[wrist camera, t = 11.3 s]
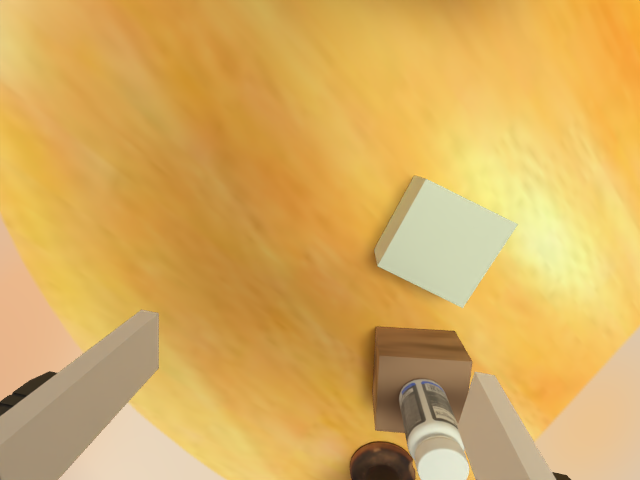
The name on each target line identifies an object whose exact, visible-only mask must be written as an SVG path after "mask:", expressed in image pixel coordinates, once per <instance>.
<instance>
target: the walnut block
mask: <svg viewBox="0 0 640 480" xmlns="http://www.w3.org/2000/svg"><path fill="white" fill-rule="evenodd" d="M471 368H472V360H471V358H470V357H469V355H468V353H467V351H466V350H465V348H464V346H463V345H462V343H461V341H460V339H459V338H458V336H457V334H456V332H455V331H444V330H426V329H408V328H391V327H376V335H375V354H374V372H373V391H372V394H373V407H374V420H375V430H377V431H389V432H400V433H405V430H404V424H403V419H402V414H401V409H400V403H399V395H400V392H401V390H402V388H403V387H404V386H405V385H406V384H407V383H409V382H411V381H413V380H417V379H428V380H432V381H434V382H436V383H437V384H439V385H440V386H441V387H442V389H443V390H444V392H445V394H446V396H447V399H448V401H449V404H450V406H451V409H452V411H453V414H454V416H455V419H456V421H457V424H458V423H459V420H460V417H461V414H462V411H463V407H464V404H465V401H466V398H467V395H468V391H469V383H470V376H471Z"/></svg>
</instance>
